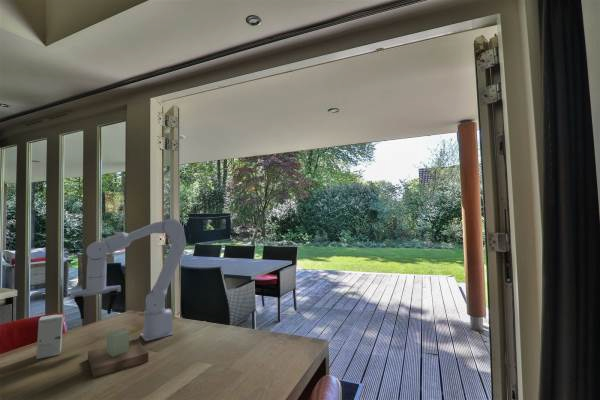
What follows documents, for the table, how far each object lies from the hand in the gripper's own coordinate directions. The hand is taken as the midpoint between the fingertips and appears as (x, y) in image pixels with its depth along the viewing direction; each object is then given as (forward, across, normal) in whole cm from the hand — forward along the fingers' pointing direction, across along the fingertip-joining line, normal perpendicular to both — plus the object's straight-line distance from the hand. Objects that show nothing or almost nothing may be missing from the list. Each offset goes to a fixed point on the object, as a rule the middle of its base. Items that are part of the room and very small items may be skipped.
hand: (95, 315), depth 103 cm
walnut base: (+10, -4, +17) cm, 20 cm away
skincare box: (+11, +12, -3) cm, 16 cm away
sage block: (+8, -4, +17) cm, 19 cm away
